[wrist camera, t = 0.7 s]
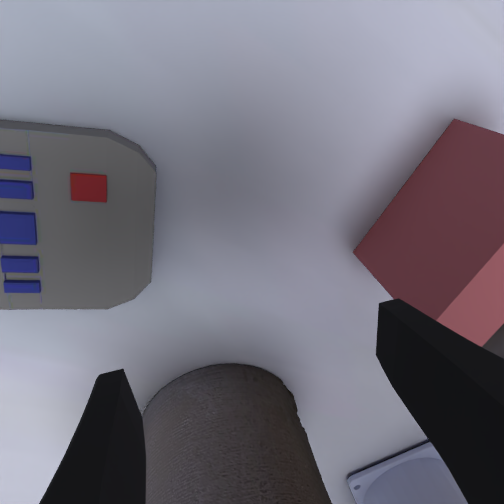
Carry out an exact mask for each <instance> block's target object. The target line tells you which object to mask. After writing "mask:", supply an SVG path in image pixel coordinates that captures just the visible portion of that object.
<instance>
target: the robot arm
mask: <svg viewBox="0 0 504 504" xmlns="http://www.w3.org/2000/svg"><path fill="white" fill-rule="evenodd" d="M376 356H377V358H378V360H379V362H380V364H381V366H382V368H383V370H384V372H385V374H386V376H387V377H388V379H389V381H390V383H391V385H392V387H393V388H394V390H395V391H396V393H397V394H398V396H399V397H400V398H401V400H402V401H403V403H404V404H405V406H406V407H407V409H408V410H409V412H410V413H411V415H412V416H413V417H414V419H415V420H416V422H417V423H418V425H419V426H420V427H421V429H422V430H423V432H424V433H425V435H426V436H427V438H428V439H429V440H430V442H428V443H426V444H424V445H421V446H419V447H417V448H414V449H412V450H410V451H407V452H405V453H403V454H401V455H398V456H396V457H394V458H391V459H389V460H387V461H384V462H382V463H380V464H377V465H375V466H373V467H370V468H368V469H366V470H363V471H361V472H359V473H356V474H354V475H352V476H350V477H349V478H348V480H347V482H348V485H349V487H350V489H351V492H352V494H353V497H354V499H355V501H356V504H504V358H502V357H500V356H498V355H496V354H494V353H492V352H490V351H488V350H486V349H484V348H483V347H481V346H479V345H477V344H475V343H473V342H472V341H470V340H468V339H466V338H465V337H463V336H461V335H459V334H458V333H456V332H454V331H452V330H451V329H449V328H447V327H446V326H444V325H442V324H441V323H439V322H437V321H436V320H434V319H432V318H431V317H429V316H428V315H426V314H424V313H423V312H421V311H419V310H418V309H416V308H414V307H413V306H411V305H410V304H408V303H406V302H404V301H403V300H401V299H399V298H398V299H394V300H390V301H386V302H382V303H379V311H378V328H377V346H376ZM39 504H146V449H145V438H144V428H143V419H142V416H141V413H140V411H139V408H138V406H137V403H136V401H135V398H134V395H133V393H132V390H131V388H130V385H129V382H128V380H127V377H126V375H125V372H124V369H120V370H116V371H112V372H108V373H104V374H100V375H99V376H98V377H97V379H96V381H95V384H94V387H93V390H92V392H91V395H90V398H89V400H88V403H87V405H86V408H85V410H84V413H83V415H82V417H81V420H80V422H79V424H78V427H77V429H76V431H75V433H74V436H73V438H72V440H71V442H70V444H69V447H68V449H67V451H66V453H65V455H64V457H63V459H62V461H61V463H60V465H59V467H58V469H57V471H56V473H55V475H54V477H53V479H52V481H51V483H50V485H49V487H48V488H47V490H46V492H45V494H44V496H43V498H42V499H41V501H40V503H39Z"/></svg>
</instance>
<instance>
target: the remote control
mask: <svg viewBox="0 0 504 504" xmlns="http://www.w3.org/2000/svg"><path fill="white" fill-rule="evenodd" d="M155 190H156V165H155V164H154V163H153V162H152V161H151V159H150V158H149V157H148V156H147V154H146V153H145V152H144V151H143V149H142V148H141V147H140V146H139V145H138V144H136V143H134V142H132V141H130V140H128V139H126V138H124V137H122V136H120V135H118V134H116V133H114V132H112V131H110V130H101V129H91V128H81V127H71V126H60V125H50V124H40V123H30V122H19V121H9V120H0V309H7V310H14V309H109V308H112V307H114V306H117V305H120V304H122V303H125V302H127V301H130V300H133V299H135V297H136V296H137V295H138V294H139V293H140V292H141V291H142V290H143V289H144V288H145V287H146V286H147V285H148V284H149V283H150V282H151V273H152V252H153V231H154V211H155Z"/></svg>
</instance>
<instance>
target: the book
mask: <svg viewBox="0 0 504 504" xmlns="http://www.w3.org/2000/svg"><path fill="white" fill-rule="evenodd" d="M353 253H354V254H355V255H356V257H357V258H358V259H359V260H360V261H361V262H362V263H363V265H364V266H365V267H366V268H367V269H368V270H369V271H370V273H371V274H372V275H373V276H374V277H375V278H376V279H377V280H378V282H379V283H380V284H381V285H382V286H383V287H384V288H385V290H386V291H387V292H388V293H389V294H390V295H391V296H392V297H393V299H398V298H399V299H401V300H403V301H404V302H406V303H408V304H410V305H411V306H413V307H414V308H416V309H418V310H419V311H421V312H423V313H424V314H426V315H428V316H429V317H431V318H432V319H434V320H436V321H437V322H439V323H441V324H442V325H444V326H446V327H447V328H449V329H451V330H452V331H454V332H456V333H458V334H459V335H461V336H463V337H465V338H466V339H468V340H470V341H472V342H473V343H475V344H477V345H479V346H481V347H482V346H483V345H484V344H485V343H486V342H487V341H488V340H489V339H490V338H491V336H492V335H493V334H494V333H495V332H496V331H497V330H498V329H499V328H500V327H501V326H502V325H503V324H504V135H503V134H500V133H497V132H494V131H491V130H488V129H485V128H481V127H478V126H475V125H472V124H469V123H466V122H463V121H460V120H457V119H454V120H453V121H452V122H451V124H450V125H449V126H448V128H447V129H446V130H445V131H444V133H443V134H442V135H441V137H440V138H439V139H438V141H437V142H436V143H435V145H434V146H433V147H432V149H431V150H430V151H429V153H428V154H427V155H426V157H425V158H424V159H423V160H422V162H421V163H420V164H419V166H418V167H417V168H416V170H415V171H414V172H413V174H412V175H411V176H410V178H409V179H408V180H407V182H406V183H405V184H404V186H403V187H402V188H401V189H400V191H399V192H398V193H397V195H396V196H395V197H394V199H393V200H392V201H391V203H390V204H389V205H388V207H387V208H386V209H385V211H384V212H383V213H382V215H381V216H380V217H379V218H378V220H377V221H376V222H375V224H374V225H373V226H372V228H371V229H370V230H369V232H368V233H367V234H366V236H365V237H364V238H363V240H362V241H361V242H360V244H359V245H358V246H357V247H356V249H355V250H354V251H353Z"/></svg>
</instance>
